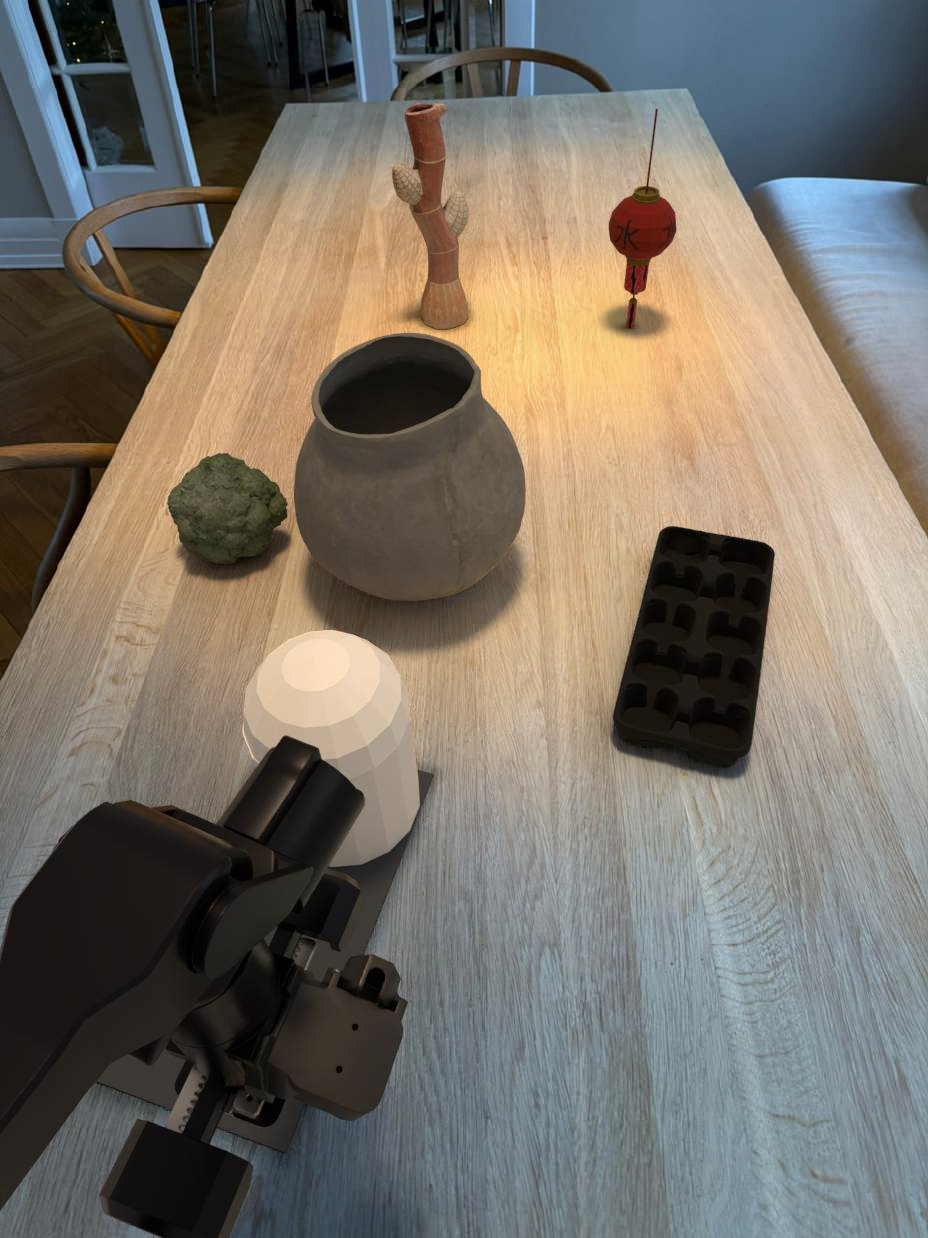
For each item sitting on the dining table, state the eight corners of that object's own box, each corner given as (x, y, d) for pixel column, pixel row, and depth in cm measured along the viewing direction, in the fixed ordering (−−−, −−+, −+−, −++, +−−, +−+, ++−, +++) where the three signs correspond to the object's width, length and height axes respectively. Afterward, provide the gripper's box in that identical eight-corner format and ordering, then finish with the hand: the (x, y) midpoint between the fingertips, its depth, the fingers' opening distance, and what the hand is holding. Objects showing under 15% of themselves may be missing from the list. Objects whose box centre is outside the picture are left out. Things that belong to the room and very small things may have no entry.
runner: (285, 1153, 62) (285, 1152, 61) (89, 1079, 65) (88, 1078, 65) (433, 775, 82) (433, 773, 82) (277, 734, 85) (277, 733, 85)
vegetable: (312, 481, 107) (294, 512, 94) (255, 560, 111) (230, 603, 97) (226, 420, 104) (195, 443, 90) (171, 504, 108) (132, 539, 94)
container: (403, 723, 85) (383, 579, 71) (438, 844, 77) (423, 709, 62) (265, 757, 83) (214, 615, 68) (284, 885, 75) (231, 755, 60)
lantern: (673, 323, 133) (709, 105, 111) (639, 350, 129) (669, 128, 107) (621, 304, 138) (645, 90, 115) (586, 329, 133) (604, 111, 111)
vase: (469, 303, 139) (463, 92, 117) (475, 327, 134) (470, 111, 112) (402, 309, 139) (384, 98, 116) (406, 333, 134) (387, 118, 112)
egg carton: (610, 767, 82) (614, 744, 79) (607, 545, 102) (610, 520, 99) (805, 780, 80) (816, 757, 77) (763, 552, 100) (771, 527, 97)
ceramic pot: (268, 558, 102) (217, 368, 83) (430, 467, 112) (416, 280, 93) (399, 682, 89) (372, 490, 70) (568, 567, 99) (584, 374, 81)
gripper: (284, 1284, 34) (339, 1315, 45) (439, 852, 45) (451, 965, 57) (38, 1182, 36) (150, 1237, 48) (245, 798, 48) (295, 917, 60)
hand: (276, 1075), depth 53 cm, fingers closed
